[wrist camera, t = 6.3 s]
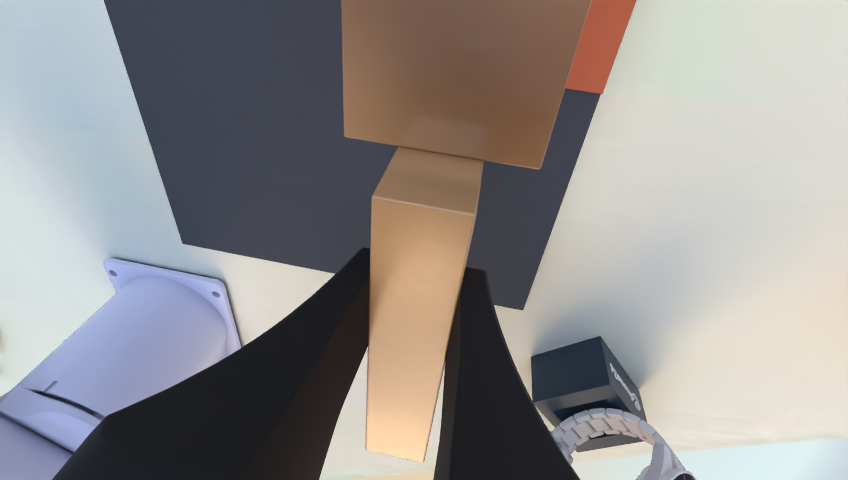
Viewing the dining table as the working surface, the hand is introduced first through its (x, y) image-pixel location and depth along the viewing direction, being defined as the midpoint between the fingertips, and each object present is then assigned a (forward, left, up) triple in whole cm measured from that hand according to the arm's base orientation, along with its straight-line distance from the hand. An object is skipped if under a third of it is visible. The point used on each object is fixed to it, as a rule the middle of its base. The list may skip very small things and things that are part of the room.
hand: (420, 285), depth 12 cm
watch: (-13, -10, -9) cm, 18 cm away
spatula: (+2, 0, -2) cm, 2 cm away
